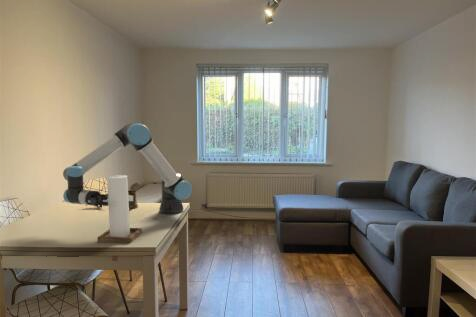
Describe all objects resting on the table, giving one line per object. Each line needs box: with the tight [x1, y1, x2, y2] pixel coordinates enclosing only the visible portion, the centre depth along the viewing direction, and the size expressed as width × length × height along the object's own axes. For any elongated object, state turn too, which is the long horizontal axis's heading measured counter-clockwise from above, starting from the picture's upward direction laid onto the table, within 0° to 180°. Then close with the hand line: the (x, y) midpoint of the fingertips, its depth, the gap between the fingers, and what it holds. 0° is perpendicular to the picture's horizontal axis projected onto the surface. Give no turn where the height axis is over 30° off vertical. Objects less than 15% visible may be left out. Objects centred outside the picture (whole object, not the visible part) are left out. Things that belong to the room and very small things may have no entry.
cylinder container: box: [106, 174, 131, 237], centre depth 180 cm, size 9×9×30 cm
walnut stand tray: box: [97, 227, 143, 244], centre depth 182 cm, size 16×16×2 cm
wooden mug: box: [128, 182, 140, 210], centre depth 243 cm, size 9×14×18 cm, turn 42°
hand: (123, 201), depth 179 cm, fingers open, 13 cm apart
